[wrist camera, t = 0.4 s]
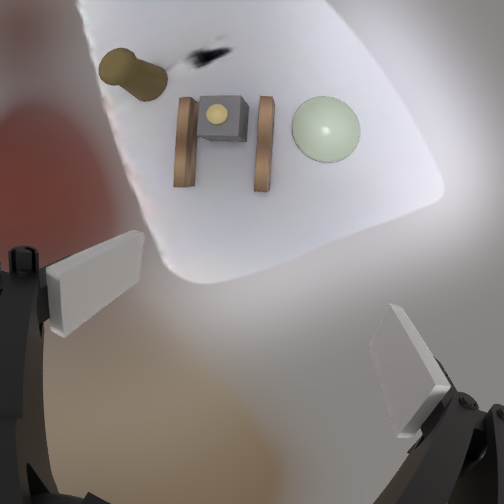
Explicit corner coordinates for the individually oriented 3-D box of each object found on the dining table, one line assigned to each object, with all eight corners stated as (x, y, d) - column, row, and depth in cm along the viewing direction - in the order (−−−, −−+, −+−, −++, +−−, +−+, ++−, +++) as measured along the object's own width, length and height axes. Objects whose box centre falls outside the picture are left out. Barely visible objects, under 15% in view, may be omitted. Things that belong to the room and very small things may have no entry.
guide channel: (189, 104, 38) (179, 97, 34) (274, 104, 36) (272, 96, 32) (184, 185, 41) (173, 187, 37) (269, 190, 39) (266, 192, 35)
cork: (161, 59, 36) (125, 33, 26) (172, 89, 37) (135, 67, 27) (129, 78, 38) (88, 59, 27) (138, 108, 39) (96, 94, 28)
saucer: (294, 95, 35) (293, 93, 34) (359, 102, 34) (361, 101, 33) (290, 158, 38) (290, 158, 37) (356, 166, 37) (358, 166, 36)
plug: (213, 106, 37) (197, 94, 31) (248, 106, 37) (239, 93, 30) (210, 140, 39) (194, 134, 32) (246, 141, 38) (236, 134, 31)
